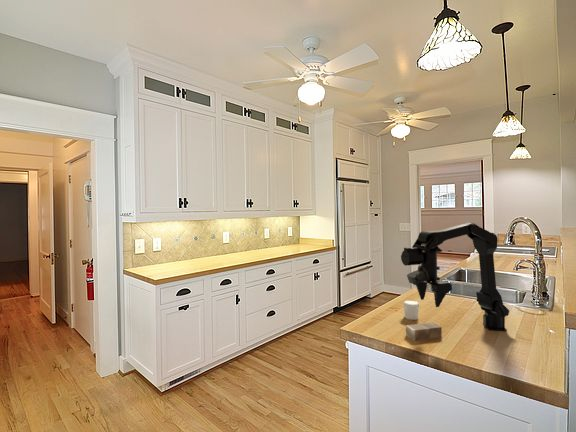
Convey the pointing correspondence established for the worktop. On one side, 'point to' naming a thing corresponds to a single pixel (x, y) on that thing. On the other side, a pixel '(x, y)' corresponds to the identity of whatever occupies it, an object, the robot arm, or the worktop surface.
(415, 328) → the walnut block
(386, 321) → the worktop surface
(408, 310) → the white cylinder
